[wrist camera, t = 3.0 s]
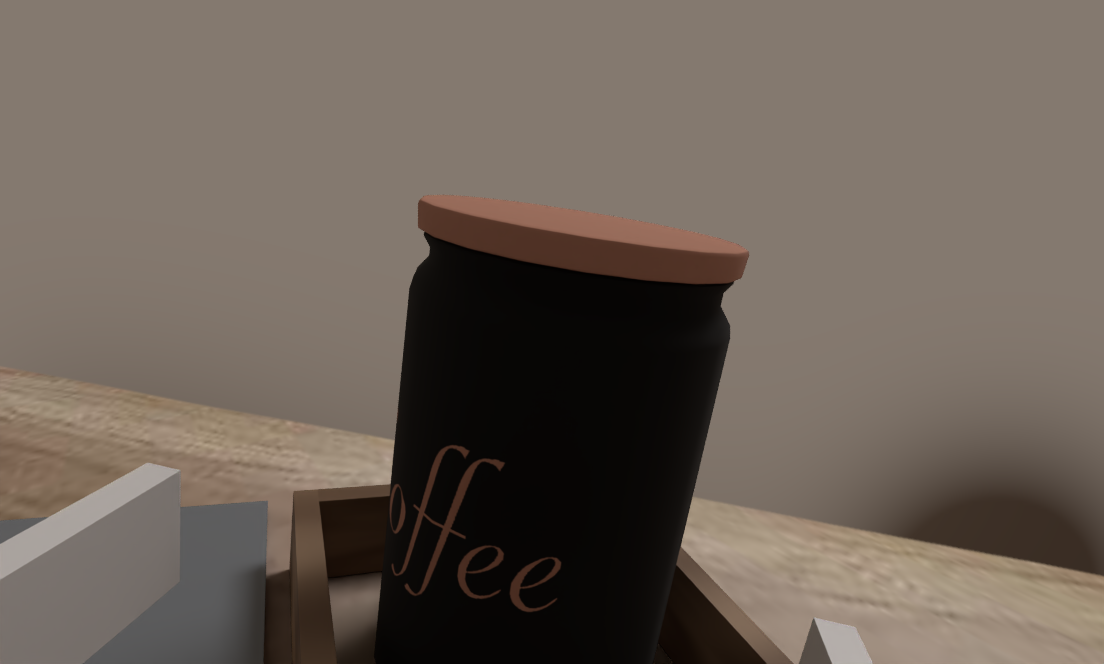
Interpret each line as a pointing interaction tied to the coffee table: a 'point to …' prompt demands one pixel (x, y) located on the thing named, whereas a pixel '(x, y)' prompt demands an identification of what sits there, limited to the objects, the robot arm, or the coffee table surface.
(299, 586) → the walnut crate
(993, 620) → the coffee table surface
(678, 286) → the coffee jar
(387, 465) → the coffee table surface
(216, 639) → the rubber mat
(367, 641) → the coffee table surface
